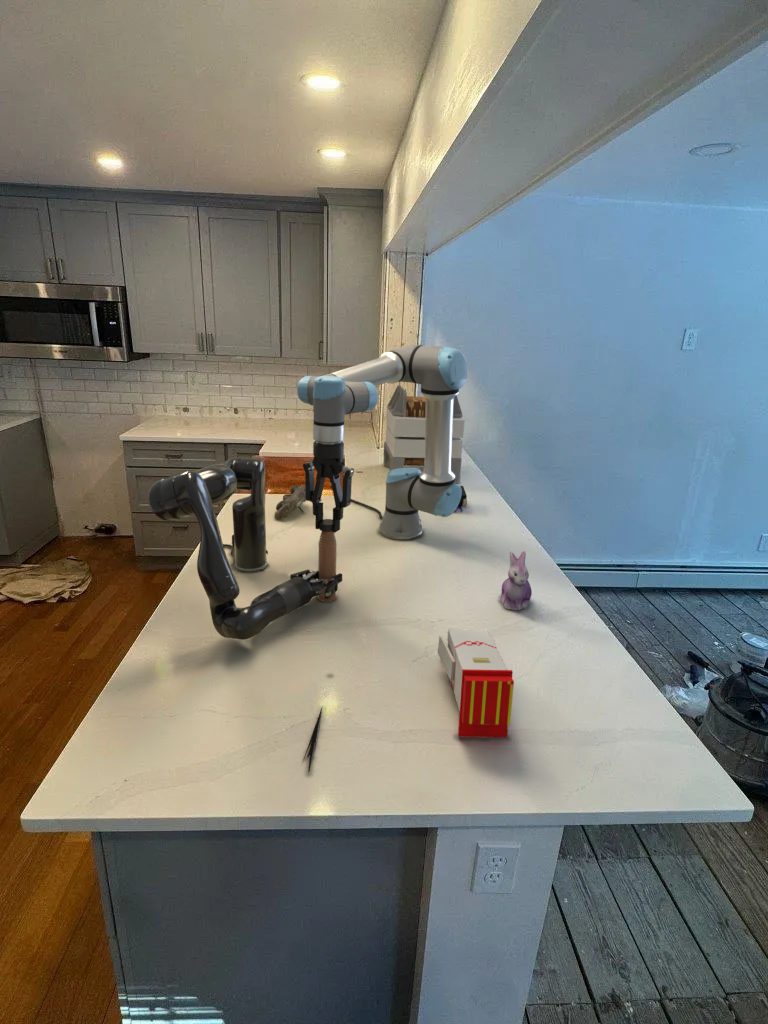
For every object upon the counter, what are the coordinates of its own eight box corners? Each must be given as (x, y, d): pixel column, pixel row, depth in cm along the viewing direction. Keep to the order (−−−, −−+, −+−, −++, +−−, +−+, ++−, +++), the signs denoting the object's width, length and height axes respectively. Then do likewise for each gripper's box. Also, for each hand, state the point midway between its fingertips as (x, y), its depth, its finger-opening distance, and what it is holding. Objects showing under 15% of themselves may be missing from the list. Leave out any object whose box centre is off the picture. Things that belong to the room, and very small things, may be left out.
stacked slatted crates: (382, 463, 289) (386, 382, 275) (445, 464, 293) (451, 384, 279) (390, 482, 257) (394, 392, 243) (460, 483, 261) (468, 394, 247)
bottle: (339, 596, 155) (340, 522, 148) (329, 603, 151) (330, 528, 144) (324, 591, 157) (325, 518, 150) (314, 598, 153) (314, 524, 146)
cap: (337, 526, 149) (337, 519, 149) (334, 532, 145) (334, 525, 145) (321, 525, 150) (321, 518, 149) (317, 531, 146) (317, 524, 145)
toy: (488, 613, 130) (523, 677, 101) (484, 667, 133) (517, 744, 104) (435, 612, 130) (455, 676, 101) (432, 666, 133) (451, 743, 103)
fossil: (279, 491, 226) (308, 470, 221) (295, 509, 228) (323, 489, 223) (264, 515, 206) (294, 493, 201) (281, 534, 209) (312, 514, 204)
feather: (331, 679, 122) (336, 673, 122) (307, 777, 96) (313, 769, 95) (324, 675, 122) (329, 669, 121) (298, 772, 95) (304, 764, 95)
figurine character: (467, 516, 223) (461, 500, 237) (469, 499, 220) (463, 483, 233) (450, 516, 223) (446, 499, 236) (452, 498, 220) (447, 483, 233)
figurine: (514, 615, 149) (521, 563, 144) (490, 597, 158) (496, 548, 153) (541, 608, 153) (549, 557, 148) (516, 591, 162) (523, 543, 157)
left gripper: (310, 592, 136) (354, 568, 149) (268, 574, 144) (314, 554, 157) (310, 619, 139) (354, 594, 152) (269, 600, 146) (314, 578, 160)
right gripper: (366, 442, 140) (364, 530, 148) (305, 434, 146) (306, 518, 154) (353, 448, 133) (351, 540, 141) (290, 439, 139) (291, 527, 147)
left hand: (333, 573), depth 154 cm, fingers closed on bottle, 4 cm apart
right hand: (327, 528), depth 148 cm, fingers closed on cap, 4 cm apart
